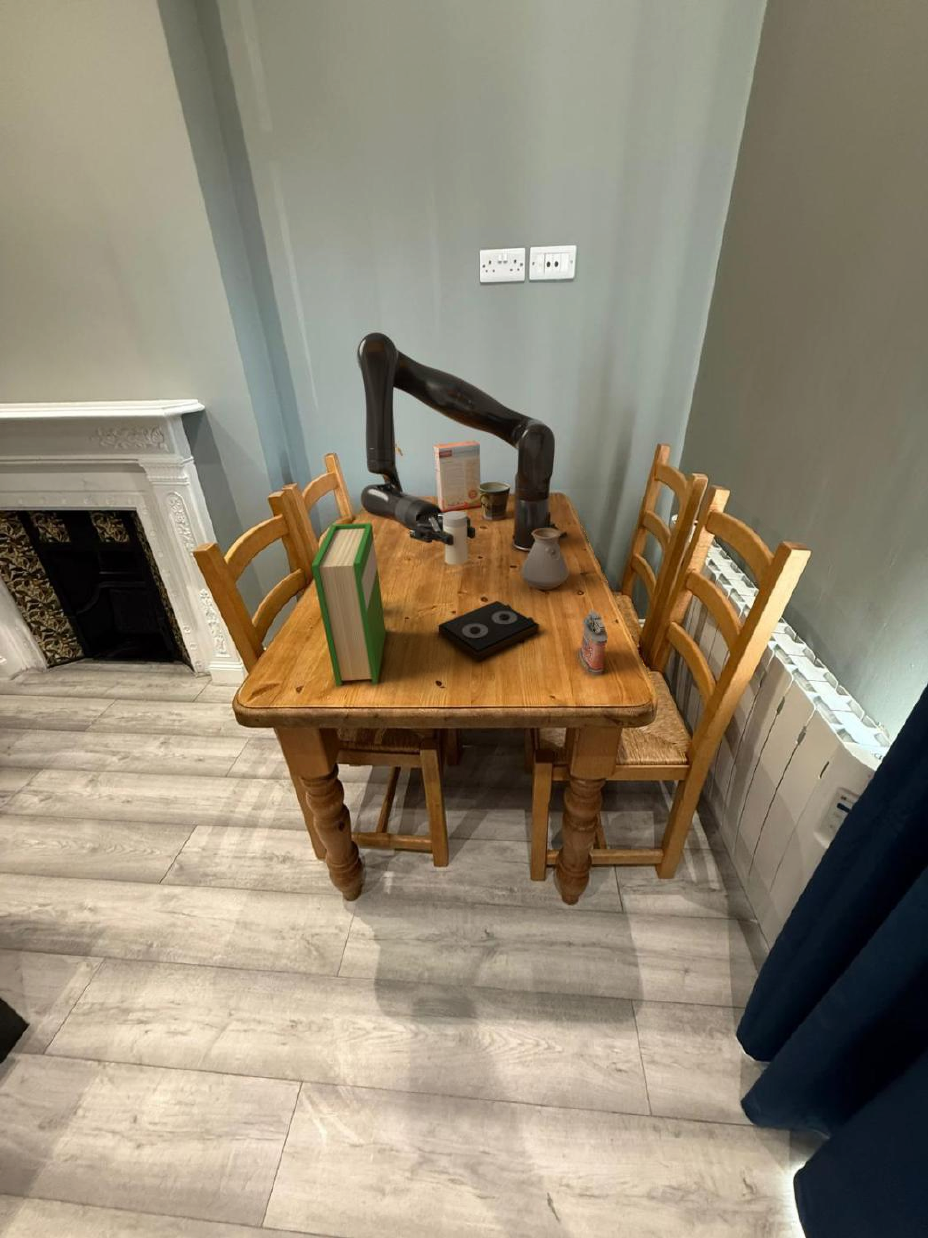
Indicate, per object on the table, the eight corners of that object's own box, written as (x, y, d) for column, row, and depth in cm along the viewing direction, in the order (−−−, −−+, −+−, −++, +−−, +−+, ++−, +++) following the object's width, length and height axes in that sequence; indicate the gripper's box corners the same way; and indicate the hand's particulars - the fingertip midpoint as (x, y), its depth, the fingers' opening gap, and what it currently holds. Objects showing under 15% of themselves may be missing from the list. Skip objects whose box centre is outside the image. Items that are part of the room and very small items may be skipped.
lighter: (576, 650, 98) (580, 606, 93) (593, 649, 98) (598, 604, 93) (588, 675, 91) (594, 629, 86) (606, 674, 91) (613, 627, 86)
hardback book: (377, 683, 91) (359, 563, 79) (336, 685, 91) (311, 565, 78) (385, 631, 106) (371, 522, 94) (350, 632, 106) (331, 524, 94)
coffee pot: (519, 571, 128) (520, 515, 120) (564, 571, 127) (569, 514, 120) (523, 615, 110) (525, 552, 102) (576, 615, 109) (583, 551, 101)
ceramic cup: (489, 509, 169) (489, 480, 164) (515, 515, 164) (516, 484, 158) (467, 521, 160) (466, 490, 155) (493, 527, 155) (493, 495, 150)
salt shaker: (458, 552, 111) (457, 509, 105) (472, 560, 107) (471, 515, 102) (440, 559, 108) (437, 514, 103) (453, 567, 105) (451, 521, 99)
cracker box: (475, 501, 177) (474, 439, 166) (481, 506, 172) (480, 443, 161) (437, 506, 173) (433, 443, 162) (442, 512, 168) (438, 447, 157)
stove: (500, 607, 113) (500, 596, 112) (541, 631, 104) (542, 619, 103) (438, 634, 105) (437, 622, 103) (477, 662, 96) (477, 650, 94)
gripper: (388, 506, 109) (433, 528, 97) (443, 492, 116) (490, 511, 104) (392, 539, 113) (435, 563, 101) (444, 523, 120) (490, 545, 108)
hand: (463, 537), depth 103 cm, fingers closed on salt shaker, 5 cm apart
